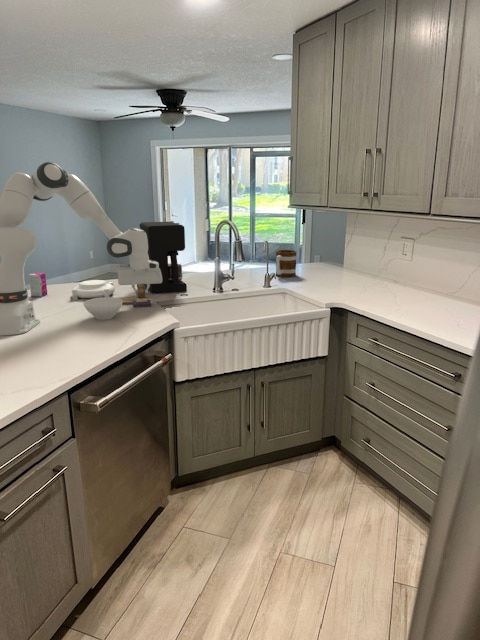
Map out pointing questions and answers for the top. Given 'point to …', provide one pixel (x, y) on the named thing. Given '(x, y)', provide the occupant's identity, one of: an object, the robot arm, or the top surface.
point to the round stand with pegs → (93, 289)
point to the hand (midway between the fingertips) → (141, 293)
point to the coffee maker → (166, 254)
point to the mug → (286, 263)
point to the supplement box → (38, 284)
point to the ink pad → (142, 304)
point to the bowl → (103, 307)
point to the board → (127, 300)
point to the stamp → (141, 293)
